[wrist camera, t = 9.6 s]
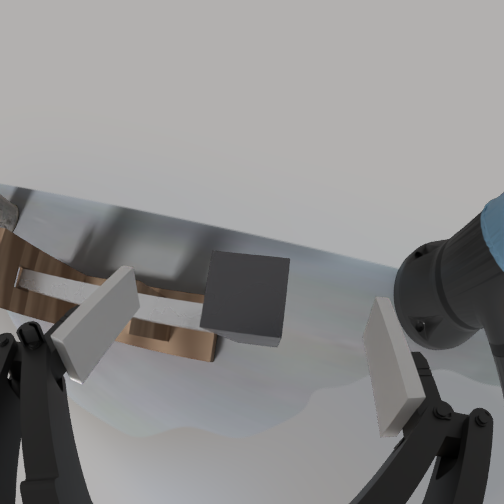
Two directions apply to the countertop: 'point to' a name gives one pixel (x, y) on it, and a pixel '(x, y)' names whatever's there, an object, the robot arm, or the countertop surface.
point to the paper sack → (8, 214)
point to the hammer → (205, 298)
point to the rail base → (52, 309)
